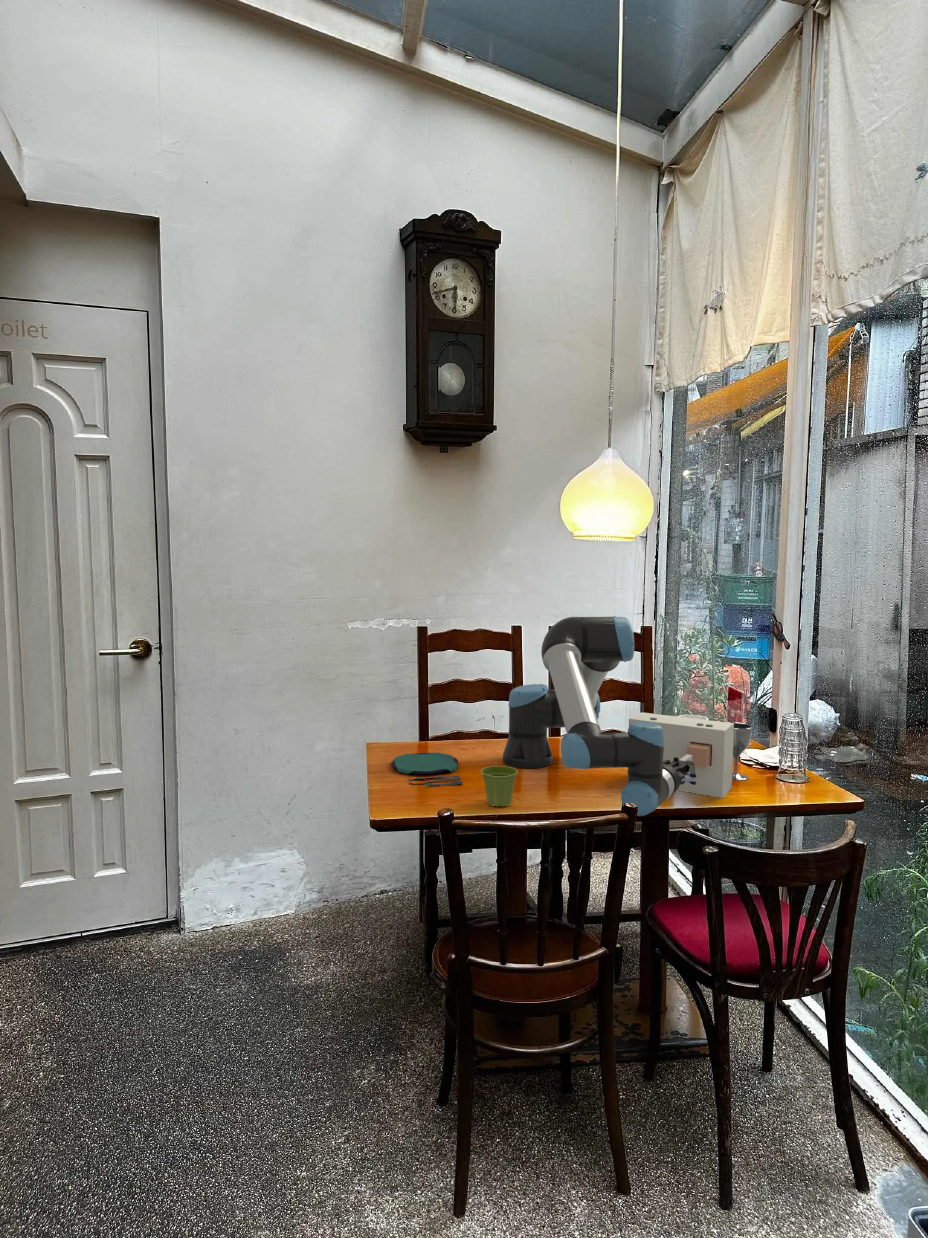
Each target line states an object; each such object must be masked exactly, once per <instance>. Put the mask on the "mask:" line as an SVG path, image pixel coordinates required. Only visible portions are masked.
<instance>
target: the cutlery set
mask: <svg viewBox="0 0 928 1238" xmlns="http://www.w3.org/2000/svg"><path fill="white" fill-rule="evenodd" d="M452 755H453V754H452ZM452 755H451V754H448V753H445V752H444V753H443V752H437V751H435V752H416V753H403V754H400V755H398V756H396V757H394V758H393V760H392V762H391V765H392V767H393V768H394V769H395V770H397V771H398V772H399V773H400V772H402V773H401V774H404V773H405V775H409V774H415V775H416V774H417V775H428V774H429V775H431V774H439V773H443V772H448V771H450V773H451V772H453V771H454V772H455V771H456V770H457V769H458V765H459V760H458V759H457V758H456V757H455V756H452ZM454 772H453V773H454ZM416 778H417V779H424V778H441V779H437V780H436V779H434V780H430V779H424V780H426V781H428V782H432V783H428V782H426V783H427V784H423V785H422V786H426V787H428V786H432V787H439V786H438V785H452V786H458V785H457V784H463V785H464V782H463V781H462V778H461V777H460V775H453V776H450V775H446V776H443V775H437V776H436V775H434V776H426V777H416ZM408 779H409V780H408V783H409V784H411V783H410V782H413V781H417V780H410V778H408ZM458 780H460V781H458ZM449 781H451V782H449ZM452 781H453V782H452ZM439 782H446V783H439ZM422 783H423V782H415V783H413V784H412V785H415V784H422Z"/></svg>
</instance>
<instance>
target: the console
mask: <svg viewBox="0 0 928 1238" xmlns="http://www.w3.org/2000/svg"><path fill="white" fill-rule="evenodd" d="M633 722H652V723H656V724H658V725H660V726H661V727H662V729H663V735H664V752H663V761H665V760H670V762H672V761H673V759H674V757H677V758H678V759H681V758H682V757H684V756H685V755H686V754H687V746H689V745H690V744H691V743H693V742H697V743H704V744H712V763H711V764H710V765H709V766H708V767H707V768H702V767H695V773H696V785H692V784H690V783H687V781H685V783H684V784H681V785H680V786H679V788H678V789H677V790H680V791H679V792H683V791H687V792H686V793H689V792H692V793H691V794H695V793H696V794H697V795H701V794H702V796H707V795H709V796H708V797H712V798H718V799H723V798H724V797H725V796H726V795H727V794H728V793H729V792H730V791H731V790H732V789H733V788H732V785H733V780H732V773H733V765H734V764H733V763H734V758H733V737H734V723H728V722H726V721H725V722H724V721H717V720H716V721H715V720H701V719H693V718H684V717H677V716H674V715H665V714H660V713H659V714H658V713H649V712H642V711H641V712H638V713H637V714H635V715H633V716H632V717H630V718H628V726H629V725H630V724H631V723H633ZM688 772H689V771H688ZM685 776H686V775H685ZM626 781H627V783H628V777H627V779H626Z"/></svg>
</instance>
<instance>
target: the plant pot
mask: <svg viewBox="0 0 928 1238" xmlns="http://www.w3.org/2000/svg"><path fill="white" fill-rule="evenodd" d="M518 773H519V770H518V769H516V767H513V766H508V765H492V766H487V767H486V766H485V767H483V768H481V770H480V774H482V778H483V781H484V788H485V794H486V801H487V802H486V803H487V805H488V804H491V805H494V806H496V807H499V806H507V805H509V804H511V805H512V802H513V801H512V800H513V793H514V786H515V780H516V778H517V777H516V776H517V775H518ZM509 806H510V805H509ZM507 807H508V806H507Z"/></svg>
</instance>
